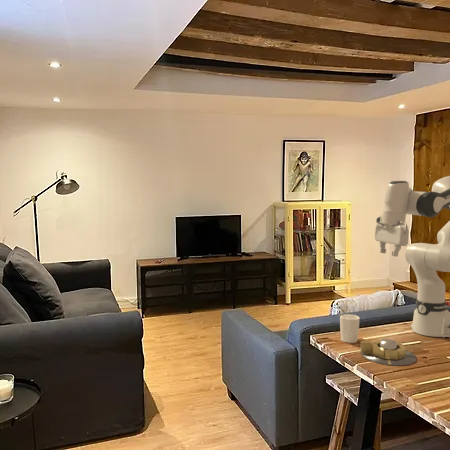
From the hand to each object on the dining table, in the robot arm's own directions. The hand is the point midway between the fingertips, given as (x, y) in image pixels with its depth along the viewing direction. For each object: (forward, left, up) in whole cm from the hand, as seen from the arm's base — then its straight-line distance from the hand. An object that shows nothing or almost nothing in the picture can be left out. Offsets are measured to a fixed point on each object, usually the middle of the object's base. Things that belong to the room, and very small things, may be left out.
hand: (388, 254), depth 186 cm
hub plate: (+10, +10, -37) cm, 39 cm away
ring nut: (+12, +9, -36) cm, 39 cm away
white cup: (+10, -10, -37) cm, 40 cm away
